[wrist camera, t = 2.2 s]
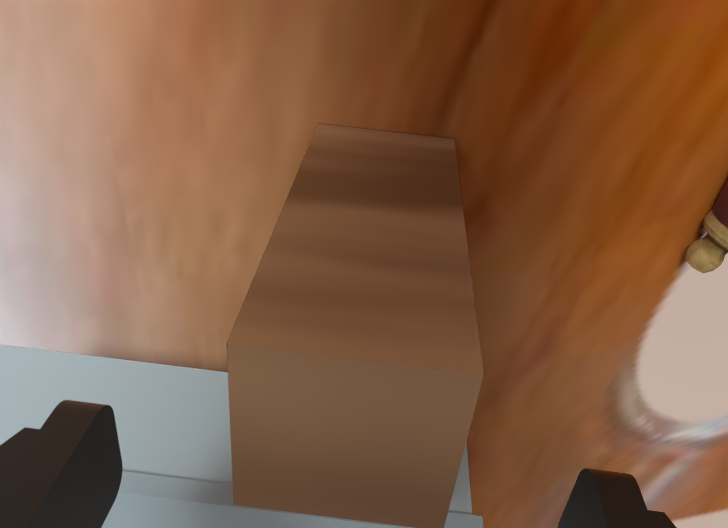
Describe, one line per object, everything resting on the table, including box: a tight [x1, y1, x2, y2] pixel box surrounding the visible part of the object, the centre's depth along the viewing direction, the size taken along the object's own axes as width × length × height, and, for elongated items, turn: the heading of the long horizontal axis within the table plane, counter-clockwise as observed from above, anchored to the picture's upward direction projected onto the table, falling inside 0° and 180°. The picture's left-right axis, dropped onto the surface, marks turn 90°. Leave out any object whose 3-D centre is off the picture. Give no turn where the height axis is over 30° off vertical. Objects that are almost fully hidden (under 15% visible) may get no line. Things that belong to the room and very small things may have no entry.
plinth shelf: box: [0, 345, 483, 528], centre depth 21 cm, size 10×15×8 cm
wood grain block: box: [226, 123, 484, 528], centre depth 18 cm, size 16×4×10 cm, turn 175°
